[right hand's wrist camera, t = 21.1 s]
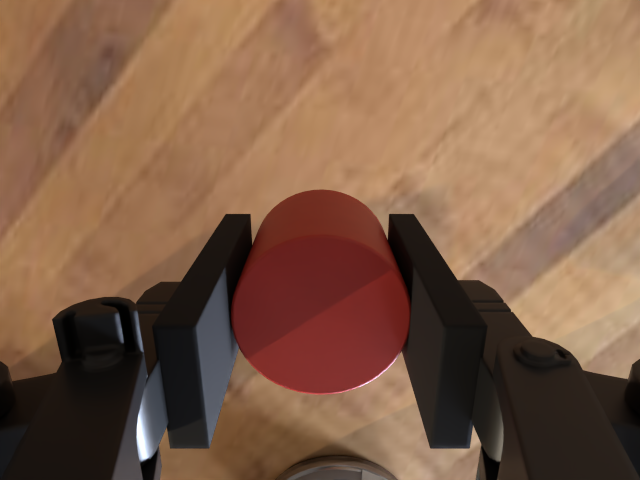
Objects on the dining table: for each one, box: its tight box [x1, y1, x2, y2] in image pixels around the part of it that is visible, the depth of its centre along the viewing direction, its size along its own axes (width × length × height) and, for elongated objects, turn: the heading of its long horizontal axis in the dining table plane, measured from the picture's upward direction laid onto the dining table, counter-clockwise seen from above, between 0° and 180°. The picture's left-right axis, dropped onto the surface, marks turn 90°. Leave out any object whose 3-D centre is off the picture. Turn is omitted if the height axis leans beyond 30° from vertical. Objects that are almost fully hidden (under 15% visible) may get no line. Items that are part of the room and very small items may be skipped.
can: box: [231, 190, 411, 394], centre depth 13 cm, size 4×4×4 cm
